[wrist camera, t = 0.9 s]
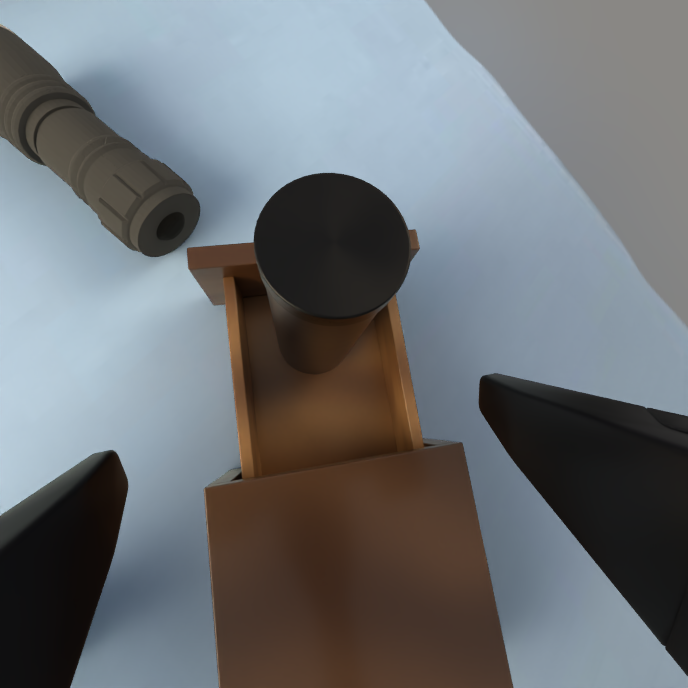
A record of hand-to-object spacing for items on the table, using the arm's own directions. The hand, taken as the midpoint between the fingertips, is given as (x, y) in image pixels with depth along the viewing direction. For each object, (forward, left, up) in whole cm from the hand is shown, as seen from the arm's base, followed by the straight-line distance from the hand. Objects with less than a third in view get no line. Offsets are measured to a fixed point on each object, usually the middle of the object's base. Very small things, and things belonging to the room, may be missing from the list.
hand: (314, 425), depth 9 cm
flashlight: (+9, +20, -15) cm, 26 cm away
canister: (+5, +2, -13) cm, 14 cm away
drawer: (+3, +1, -14) cm, 15 cm away
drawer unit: (-6, -6, -15) cm, 17 cm away
